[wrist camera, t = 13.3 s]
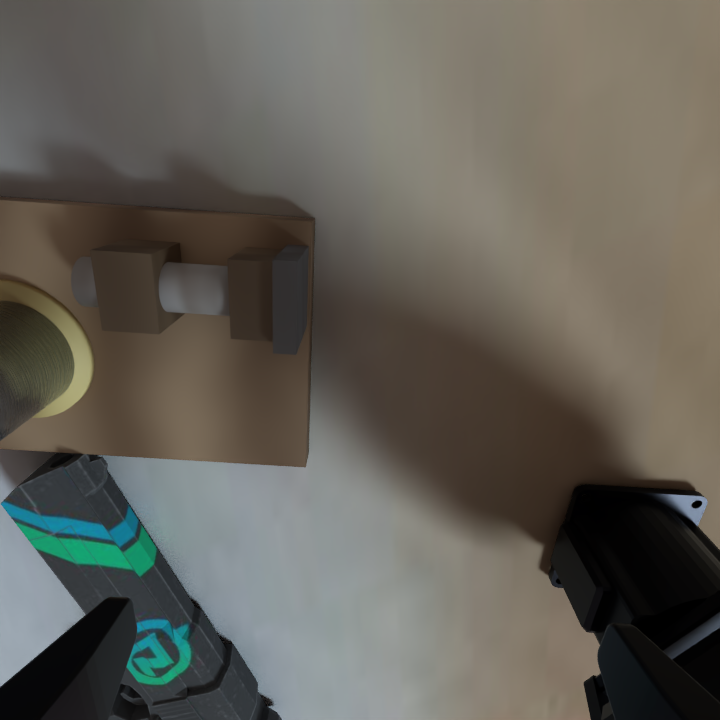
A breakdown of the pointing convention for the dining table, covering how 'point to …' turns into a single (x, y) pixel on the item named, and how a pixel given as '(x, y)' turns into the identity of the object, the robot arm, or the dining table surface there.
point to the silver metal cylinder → (30, 364)
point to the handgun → (133, 595)
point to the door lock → (168, 328)
